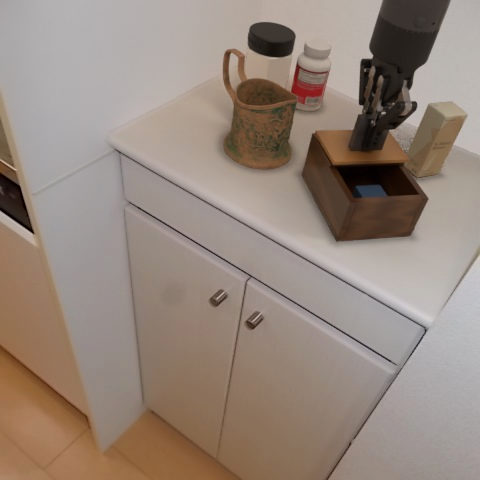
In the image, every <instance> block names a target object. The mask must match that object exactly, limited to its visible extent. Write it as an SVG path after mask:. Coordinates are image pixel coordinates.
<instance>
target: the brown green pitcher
mask: <svg viewBox="0 0 480 480" xmlns="http://www.w3.org/2000/svg"><path fill="white" fill-rule="evenodd" d="M231 55H235V56H236V57H237V58H238V59H237V73H238V77H239V80H240V82H239V83H238V84H237V86H236V87H235V90H234V88H233V86H232V83H231V79H230V60H231ZM222 59H223V60H222V81H223V84H224V88H225V90H226V92H227V94H228V95H229V97H230V99H231V101H232V105H233V111H232V118H231V125H230V132H228V133H227V134H226V135H225V136H224V138H223V142H222V145H223V146H222V148H223V151H224V152H225V154H226V155H227V156H228V157H229V158H230V159H231V160H233V161H234V162H236V163H237V164H240V165H242V166H245V167H248V168H252V169H259V170H271V169H273V170H274V169H277V168H281V167H282V166H284V165H287V163H289V161H290V160H291V158H292V155H293V148H292V146H291V144H290V137H291V132H292V128H293V124H294V117H295V113H296V109H297V108H296V104H297V101H298V97H297V96H296V95H295V94H293V93H291V90H289V89H287V88H286V89H285V88H283V87H282V86H280V85H279V84H277V83H275V82H272V81H270V80H266V79H261V78H251V79H247V78H246V75H245V70H244V63H245V60H246V54H244V53H243V52H242V51H240V50H239V49H238V48H229V49H226V50H225V51H224V54H223V58H222Z"/></svg>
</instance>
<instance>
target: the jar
mask: <svg viewBox="0 0 480 480" xmlns="http://www.w3.org/2000/svg"><path fill="white" fill-rule="evenodd" d="M296 38H297V35H296V32H295V31H294V30H293V29H291V28H290V27H288V26H286V25H284V24H280V23H278V22H271V21H259V22H255V23H253V24H251V25H250V26H249V30H248V32H247V44H246V45H247V46H246V53H245V62H244V70H245V75H246V78H247V79H251V78H261V79H266V80H270V81H272V82H275V83H277V84H279V85H280V86H282V87H283V88H285V89H287V87H288V83H289V82H288V81H289V77H290V70H291V66H292V62H293V52H294V47H295V44H296Z"/></svg>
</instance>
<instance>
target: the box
mask: <svg viewBox="0 0 480 480" xmlns="http://www.w3.org/2000/svg"><path fill="white" fill-rule="evenodd" d="M468 117H469V114H468V113H467V112H466V111H465V110H464V109H463V108H461V107H460V106H459V105H458V104H456V103H455V102H454V101H451V100H450V101H439V102H429V103H428V104H427V106H426V109H425V110H424V113H423V116H422V118H421V120H420V122H419V125H418V127H417V130H416V132H415V134H414V136H413V139H412V141H411V143H410V145H409V147H408V150H407V152H406V154H407V156H408V157H409V158H410V161H409V162H407V163H405V164H404V166H405V167H406V168H407V170H408V171H409V172H410V174H411V175H412V176H413V177H415V178H425V177H430V176H436V175H439V173H440V172H441V170H442V168H443V166H444V164H445V162H446V160H447V158H448V156H449V154H450V152H451V150H452V148H453V147H454V144H455V142H456V140H457V138H458V137H459V133H460V132H461V130H462V128H463V126H464V123H466V120H467V118H468Z"/></svg>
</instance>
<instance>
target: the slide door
mask: <svg viewBox="0 0 480 480" xmlns="http://www.w3.org/2000/svg"><path fill="white" fill-rule="evenodd" d="M384 114H385V113H381V114H380V116H379V118H381V117H382V116H383V115H384ZM371 116H372V114H362V113H359V114H357V117H356V119H355V123H354V126H353V129H323V130H317V129H316V130H315V131H314V133H315V135H316V137H317V139H318V140H319V142H320V144H321V145H322V147H323V149H324V150H325V152H326V154H327V155H328V157H329V159H330V161H331V162H332V164H333V165H352V164H379V163H407V162H409V161H410V158H409V157H408V156H407V152H405V150H404V149H403V147H402V146H401V145H400V143H398V141H397V140H396V138H395V137H394V135H393V134H392V133H391V131H390V130H384V132H383V135H382V137H381V140H380V142H379V146H378V147H377V149H376V150H368V151H365V150H364V149H363V148H362V143H363V140H364V137H365V134H366V131H367V128H368V125H369V124H370V119H371Z"/></svg>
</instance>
